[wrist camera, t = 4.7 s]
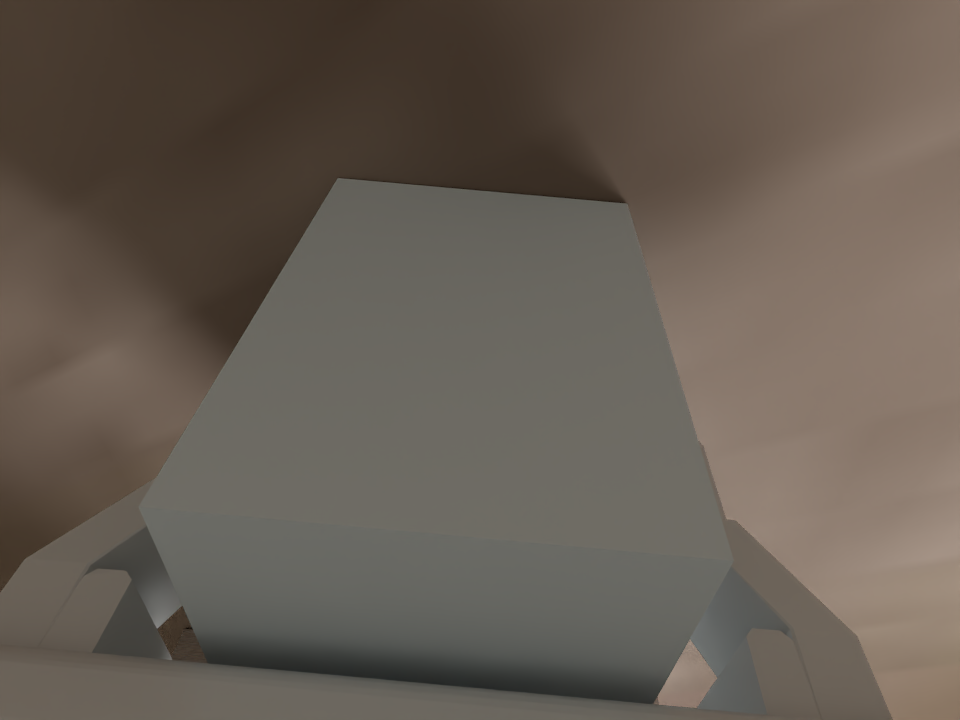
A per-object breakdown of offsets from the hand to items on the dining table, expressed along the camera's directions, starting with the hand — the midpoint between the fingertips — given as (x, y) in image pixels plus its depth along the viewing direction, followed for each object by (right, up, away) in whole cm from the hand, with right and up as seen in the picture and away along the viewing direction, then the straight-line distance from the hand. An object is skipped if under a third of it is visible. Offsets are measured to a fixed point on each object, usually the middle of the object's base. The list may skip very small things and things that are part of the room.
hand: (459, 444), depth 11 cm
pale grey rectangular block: (0, +2, +2) cm, 3 cm away
